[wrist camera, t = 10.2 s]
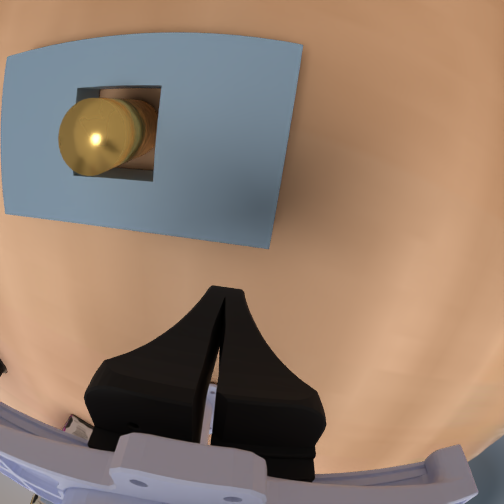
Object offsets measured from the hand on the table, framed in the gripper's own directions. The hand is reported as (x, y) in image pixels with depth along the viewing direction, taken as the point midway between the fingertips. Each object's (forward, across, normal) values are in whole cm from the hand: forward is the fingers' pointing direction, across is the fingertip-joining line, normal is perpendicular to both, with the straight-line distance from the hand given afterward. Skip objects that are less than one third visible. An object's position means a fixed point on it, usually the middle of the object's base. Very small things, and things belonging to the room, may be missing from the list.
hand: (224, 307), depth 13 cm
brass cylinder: (+9, +8, -6) cm, 14 cm away
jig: (+9, +8, -6) cm, 14 cm away
